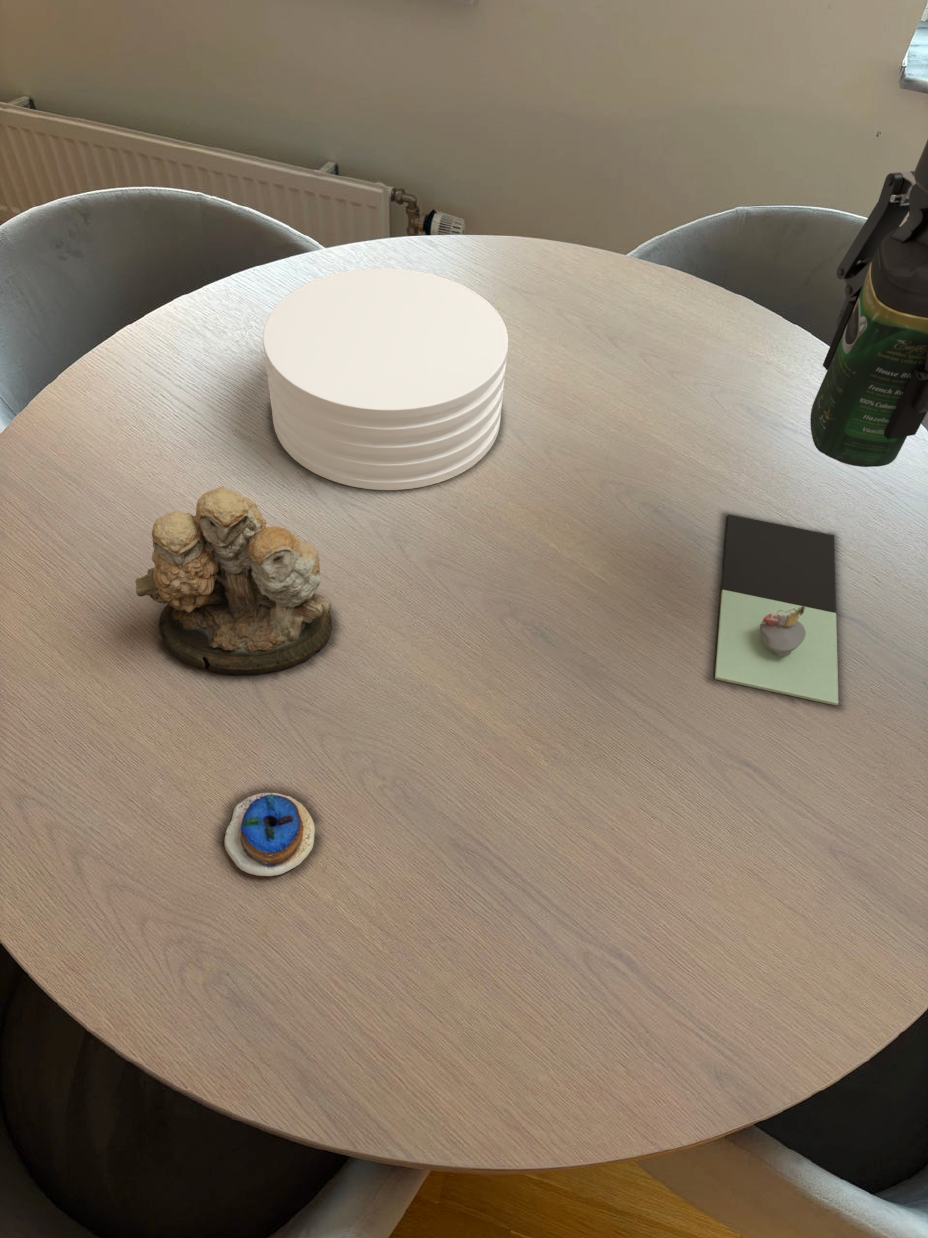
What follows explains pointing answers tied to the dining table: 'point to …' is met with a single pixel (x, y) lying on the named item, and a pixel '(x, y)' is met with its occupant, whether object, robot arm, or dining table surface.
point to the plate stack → (385, 377)
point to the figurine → (783, 631)
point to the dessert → (269, 834)
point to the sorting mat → (778, 608)
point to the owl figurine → (235, 588)
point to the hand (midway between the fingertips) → (867, 398)
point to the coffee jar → (875, 358)
